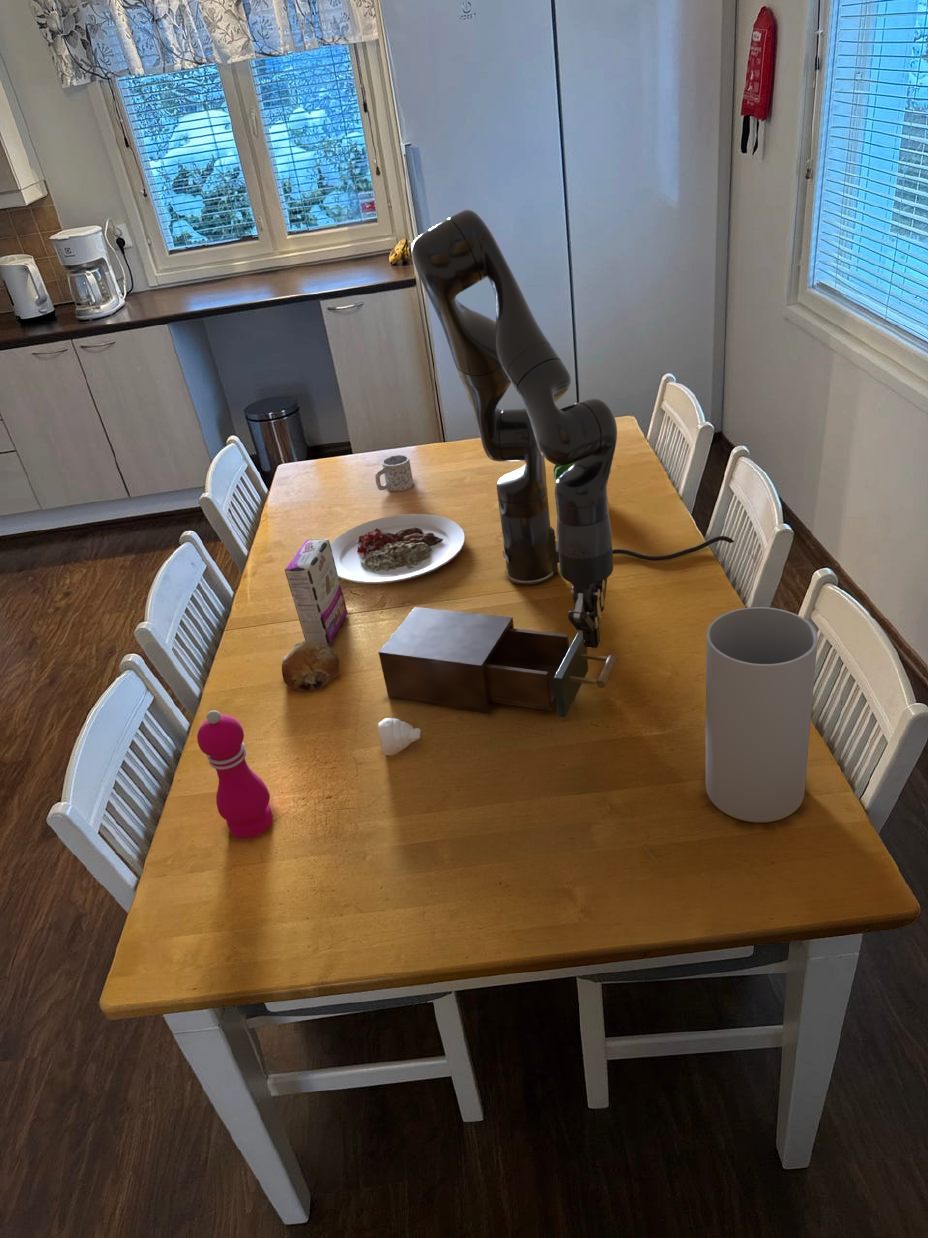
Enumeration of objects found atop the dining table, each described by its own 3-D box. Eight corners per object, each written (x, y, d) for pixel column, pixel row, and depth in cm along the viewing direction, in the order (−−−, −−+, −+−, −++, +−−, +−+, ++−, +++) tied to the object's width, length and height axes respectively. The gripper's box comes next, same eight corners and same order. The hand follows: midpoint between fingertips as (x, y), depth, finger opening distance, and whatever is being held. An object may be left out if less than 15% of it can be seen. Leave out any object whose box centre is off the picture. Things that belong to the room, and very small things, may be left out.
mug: (402, 477, 228) (397, 452, 224) (418, 483, 223) (414, 458, 220) (370, 492, 222) (365, 467, 219) (387, 498, 218) (382, 472, 214)
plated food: (437, 593, 176) (434, 578, 174) (301, 585, 186) (297, 571, 185) (484, 523, 200) (482, 509, 198) (361, 519, 210) (358, 506, 208)
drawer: (623, 674, 145) (621, 635, 141) (602, 723, 135) (599, 683, 131) (493, 658, 154) (488, 621, 150) (464, 703, 144) (458, 665, 140)
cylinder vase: (698, 816, 118) (698, 659, 105) (713, 754, 128) (715, 603, 115) (799, 833, 114) (813, 671, 100) (807, 767, 123) (821, 611, 110)
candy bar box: (324, 613, 176) (305, 538, 167) (348, 613, 174) (330, 537, 166) (304, 646, 166) (282, 568, 158) (329, 646, 165) (309, 568, 157)
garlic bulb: (424, 757, 136) (418, 728, 133) (384, 763, 136) (377, 734, 133) (422, 734, 140) (417, 706, 138) (384, 739, 140) (377, 712, 138)
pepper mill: (229, 809, 132) (189, 699, 121) (279, 801, 132) (242, 691, 121) (222, 845, 126) (179, 733, 115) (274, 837, 126) (235, 724, 115)
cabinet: (518, 663, 153) (512, 617, 148) (488, 714, 142) (481, 665, 138) (423, 651, 160) (414, 606, 155) (388, 698, 149) (378, 652, 145)
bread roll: (350, 684, 161) (350, 639, 159) (321, 696, 151) (321, 648, 150) (301, 679, 164) (300, 635, 163) (269, 690, 154) (269, 644, 153)
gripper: (598, 569, 121) (605, 673, 130) (622, 522, 131) (627, 623, 140) (544, 564, 124) (555, 667, 133) (572, 520, 134) (580, 618, 143)
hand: (592, 644), depth 136 cm, fingers closed
